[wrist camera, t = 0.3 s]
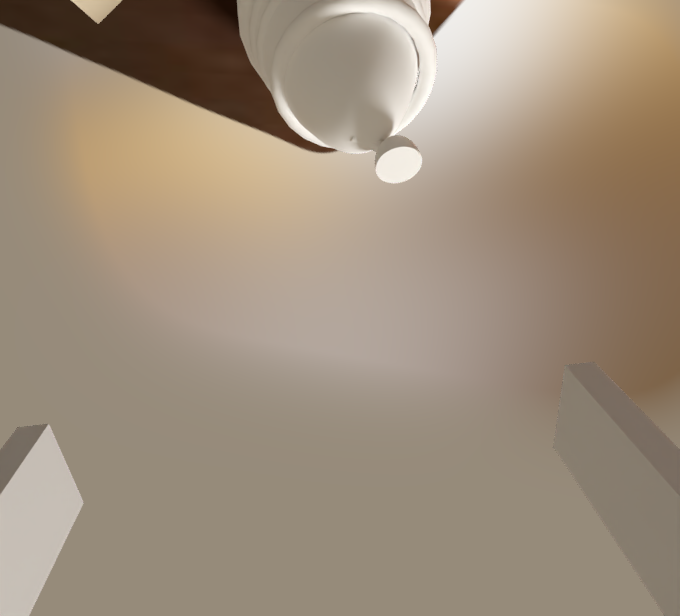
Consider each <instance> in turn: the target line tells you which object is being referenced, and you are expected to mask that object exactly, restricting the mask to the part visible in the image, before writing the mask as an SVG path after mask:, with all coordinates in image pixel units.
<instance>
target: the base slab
mask: <svg viewBox="0 0 680 616" xmlns="http://www.w3.org/2000/svg"><path fill="white" fill-rule="evenodd" d="M71 1H73V2H74V3H75V4H76V5H77V6H78V7H79V8H81V9H82V10H83V11H84V12H85V13H86V14H87V15H89V16H90V17H91V18H92V19H93V20H94V21H95V22H97V23H98V24H99V23H100V22H101V21H102V20H103V19H104V18H105V17H106V16H107V15H108V14H109V13H110V12H111V11H112V10H113V9H114V8H115V7H116V6H117V5H118V4H119V3H120V2H121V1H122V0H71Z"/></svg>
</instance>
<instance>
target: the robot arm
mask: <svg viewBox="0 0 680 616" xmlns="http://www.w3.org/2000/svg"><path fill="white" fill-rule="evenodd" d="M553 447H554V449H555V451H556V452H557V454H558V455H559V456H560V458H561V460H562V461H563V463H564V464H565V466H566V467H567V469H568V470H569V472H570V473H571V475H572V476H573V478H574V479H575V481H576V482H577V484H578V485H579V487H580V488H581V490H582V491H583V493H584V494H585V496H586V498H587V499H588V501H589V502H590V504H591V505H592V506H593V508H594V510H595V511H596V513H597V514H598V516H599V517H600V519H601V520H602V522H603V523H604V525H605V526H606V528H607V529H608V531H609V532H610V534H611V535H612V537H613V538H614V540H615V542H616V543H617V544H618V546H619V548H620V549H621V550H622V552H623V554H624V555H625V557H626V558H627V560H628V561H629V563H630V564H631V566H632V567H633V569H634V570H635V572H636V573H637V575H638V576H639V578H640V580H641V581H642V582H643V584H644V586H645V587H646V589H647V590H648V592H649V593H650V595H651V596H652V598H653V599H654V601H655V602H656V604H657V605H658V607H659V608H660V610H661V611H662V613H663V614H664V616H680V449H679V448H678V447H677V446H676V445H675V444H674V443H673V442H672V441H671V440H670V439H669V438H668V437H667V436H666V435H665V434H664V433H663V432H662V431H661V430H660V429H659V428H658V427H657V426H656V425H655V424H654V422H653V421H652V420H651V419H649V417H648V416H647V415H646V414H645V413H644V412H643V411H642V410H641V409H640V408H639V407H638V406H637V405H636V404H635V403H634V402H633V401H632V400H631V399H630V398H629V397H628V396H627V395H626V394H625V393H624V392H623V391H622V390H621V389H620V388H619V387H618V386H617V385H616V384H615V383H614V382H613V381H612V380H611V379H610V378H609V377H608V376H607V374H605V372H604V371H602V369H601V368H600V367H599V366H598V365H597V364H596V363H595V362H588V363H580V364H571V365H565V369H564V375H563V382H562V390H561V396H560V403H559V410H558V417H557V424H556V431H555V438H554V445H553ZM82 505H83V500H82V498H81V496H80V493H79V491H78V489H77V487H76V484H75V482H74V480H73V477H72V475H71V473H70V471H69V468H68V466H67V464H66V462H65V459H64V457H63V455H62V453H61V450H60V448H59V446H58V444H57V441H56V439H55V437H54V434H53V432H52V430H51V428H50V425H49V424H42V425H33V426H24V427H17V429H16V430H15V432H14V433H13V434H12V435H11V437H10V438H9V439H8V441H7V442H6V443H5V445H4V446H3V447H2V448H1V450H0V616H29V615H30V612H31V610H32V608H33V606H34V604H35V601H36V600H37V598H38V596H39V594H40V592H41V590H42V588H43V586H44V583H45V581H46V579H47V577H48V575H49V573H50V571H51V569H52V567H53V565H54V563H55V561H56V559H57V556H58V554H59V552H60V550H61V548H62V546H63V544H64V542H65V540H66V538H67V536H68V534H69V532H70V530H71V528H72V525H73V523H74V521H75V519H76V517H77V515H78V513H79V511H80V509H81V507H82Z"/></svg>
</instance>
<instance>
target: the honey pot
mask: <svg viewBox="0 0 680 616" xmlns="http://www.w3.org/2000/svg"><path fill="white" fill-rule="evenodd" d="M237 7H238V8H237V11H238V21H239V30H240V37H241V39H242V42H243V45H244V47H245V50H246V53H247V55H248V58H249V60H250V62H251V64H252V66H253V67H254V68H255V70H256V71H257V73H258V74H259V75H260V77H261V78H262V80H263V81H264V82H265V84H266V86H267V87H268V89H269V90H270V92H271V93H272V96H273V99H274V101H275V104H276V107H277V110H278V112H279V113H280V115H281V116H282V117H283V119H284V120H285V122H286V123H287V124H288V126H289V127H290V128H291V129H293V130H294V131H295V132H296V133H298V134H299V135H300V136H301V137H303V138H304V139H306V140H309V141H311V142H313V143H316V144H318V145H320V146H324V147H329V148H334V149H336V150H339V151H341V152H346V153H351V154H358V153H359V154H360V153H366V152H370V151H372V150H373V151H376V157H375V169H376V173H377V175H378V177H379V178H380V179H381V180H383V181H385V182H388V183H400V182H404V181H406V180H409V179H410V178H412V177H413V176H414V175H415V174H416V173H417V172H418V171H419V170H420V168H421V165H422V157H421V154H420V152H419V150H418V148H417V147H416V146H415V145H414V144H413V142H412V141H410V140H409V139H408V138H406V137H403V136H398V135H395V134H396V133H398V132H399V131H400V130H401V129H403V128H404V127H405V126H407V125H408V124H409V123H410V122H411V121H412V120H413V119H414V117H415V116H416V115H417V114H418V113H419V112H420V110H421V109H422V108H423V106H424V104H425V103H426V101H427V99H428V97H429V95H430V93H431V91H432V89H433V85H434V81H435V77H436V73H437V51H436V45H435V42H434V39H433V36H432V33H431V30H430V28H429V26H428V24H429V19H430V14H431V10H430V0H237ZM419 69H420V71H419ZM418 71H419V75H418V81H417V85H416V87H415V84H416V79H417V74H418ZM414 87H415V89H414ZM394 135H395V136H394Z"/></svg>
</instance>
